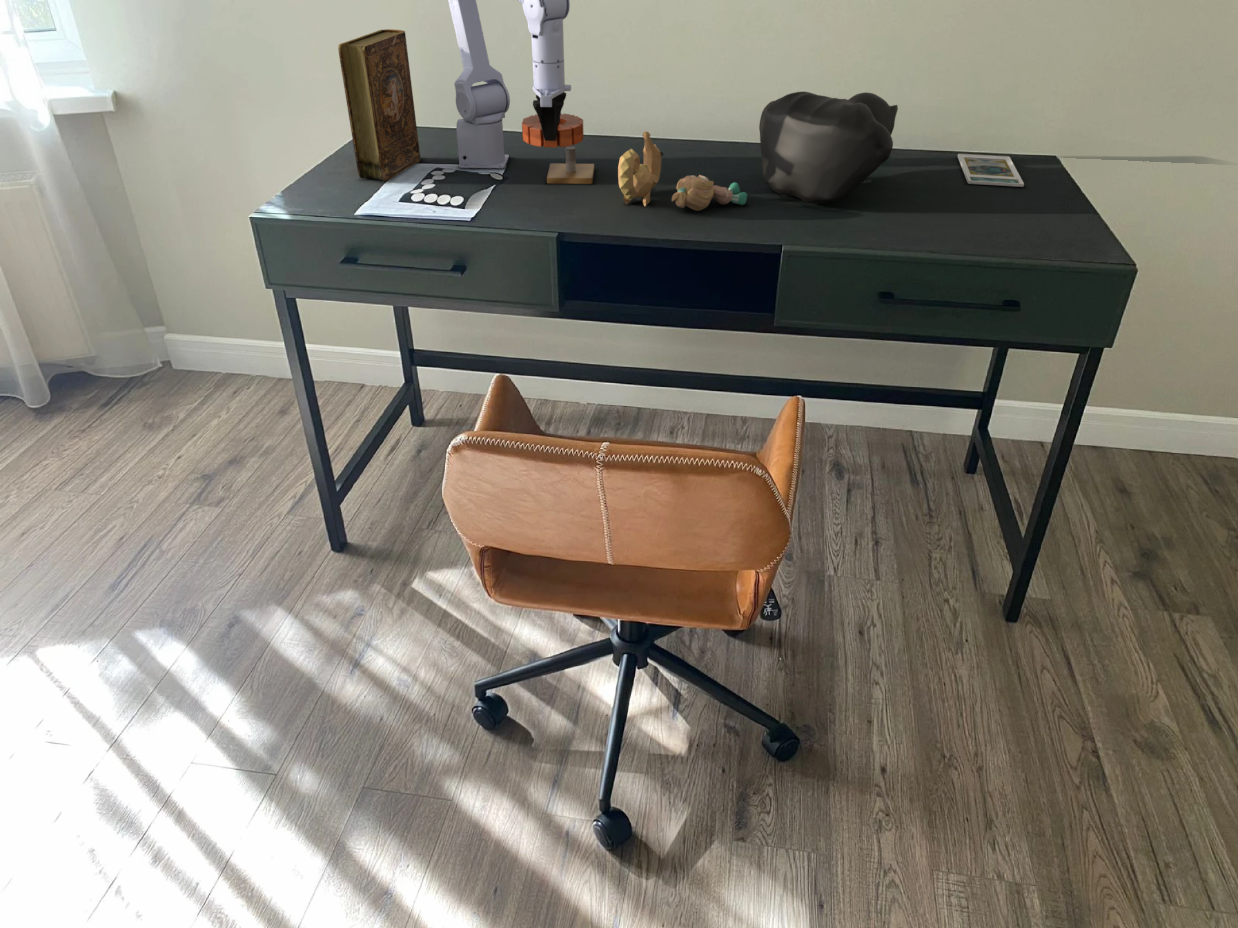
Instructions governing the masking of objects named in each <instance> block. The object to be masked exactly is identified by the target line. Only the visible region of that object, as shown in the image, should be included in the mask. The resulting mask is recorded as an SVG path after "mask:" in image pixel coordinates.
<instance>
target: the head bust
mask: <svg viewBox="0 0 1238 928" xmlns="http://www.w3.org/2000/svg"><path fill="white" fill-rule="evenodd" d="M898 106H899V105H898V104H893V105H890V104H889V103H888V102H887V101H886V99H884V98H883V97H881V96H879V95H877V94H875V93H873V92H859V93H856V94H854V95H853V96H851V97H850V98H838V97H831V96H825V95H820V94H816V93H812V92H810V91H796V92H791V93H788V94H785V95H783V96H781V97H779V98H777V99H775V100H771V101H769V102H768V103H767V104H766V105H765V106H764V108H763V110H762V111H761V115H760V119H759V124H758V129H759V143H760V153H761V166H762V177H763V181H764V183H765V184H766V185H767V186H768V187H769V188H770V189H771V190H772V191H774V192H776V193H777V194H779V195H781V196H784V197H788V198H793V197H794V198H797V199H799V200H801V201H802V202H805V203H809V204H814V205H828V204H831V203H832V204H833V203H836V202H839V201H841V200H842V199H844V198H846V197H847V196H849V195H850V194H852V193H853V192H854V191H855V190H856V189H857V188H858V187H859V186H860V185H861V184H862V183H863V182H865V181H866V179H868V177H870V175H872V174H873V173H874V172H875V171H876V170H878V168H880V166H881V165H882V164H884V163H885V162H886V161H888V160H889V159H890V156H891V153H892V150H893V148H894V142H893V141H894V140H893V137H892V134H893V132H894V128H895V123H896V117H897V113H898V110H899V107H898Z"/></svg>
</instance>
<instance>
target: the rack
mask: <svg viewBox="0 0 1238 928" xmlns="http://www.w3.org/2000/svg"><path fill="white" fill-rule="evenodd" d="M564 152H565V154H564V155H565V163H556V162H555V163H550V164H549V168H548V172H547V175H546V184H556V185H558V184H559V185H560V184H562V185H566V184H567V185H593V182H594V173H595V163H577V159H576V158H577V155H576V147H575V146H566V147H565V150H564Z"/></svg>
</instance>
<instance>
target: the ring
mask: <svg viewBox="0 0 1238 928" xmlns="http://www.w3.org/2000/svg"><path fill="white" fill-rule="evenodd" d="M521 131H522V141H523V142H525V143H526V144H528V145H530V146H534V147H539V148H542V147H543V148H555V149H557V148H558V147H559V148H564V147H565V148H566V147H570V146H571V147H573V145H574V146H575V145H577V144H579V143H581V142H583V141H584V119H583V118H581V117H580V116H578V115H575V114H570V113H562V112H561V115H560V123H559V125H558V131H557V137H556V141H545V139H544V136H543V132H542V128H541V124H540V120H539V117H538V115H537V113H536V114H534V115H529V116H527V117H525V118H523V120H522V122H521Z"/></svg>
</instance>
